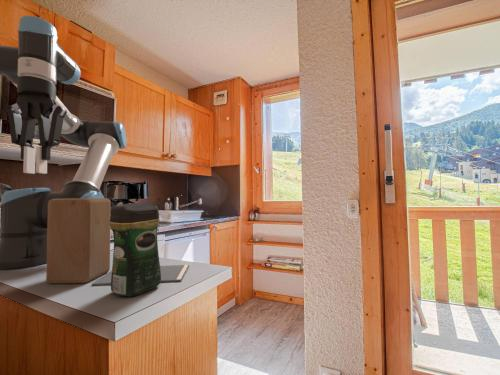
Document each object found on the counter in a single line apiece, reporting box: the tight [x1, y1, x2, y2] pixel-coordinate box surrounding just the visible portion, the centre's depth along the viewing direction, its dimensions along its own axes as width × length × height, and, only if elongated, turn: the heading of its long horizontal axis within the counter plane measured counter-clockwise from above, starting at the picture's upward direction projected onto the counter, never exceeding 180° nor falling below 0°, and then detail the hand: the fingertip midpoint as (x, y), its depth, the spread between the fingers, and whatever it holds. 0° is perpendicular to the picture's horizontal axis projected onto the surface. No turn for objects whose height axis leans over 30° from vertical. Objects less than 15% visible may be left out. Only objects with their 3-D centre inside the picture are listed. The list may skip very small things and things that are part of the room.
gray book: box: [91, 264, 190, 287], centre depth 64 cm, size 13×20×1 cm, turn 96°
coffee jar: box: [110, 202, 162, 297], centre depth 53 cm, size 10×8×19 cm
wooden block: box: [45, 197, 112, 284], centre depth 62 cm, size 10×10×20 cm
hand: (35, 173), depth 62 cm, fingers open, 2 cm apart
